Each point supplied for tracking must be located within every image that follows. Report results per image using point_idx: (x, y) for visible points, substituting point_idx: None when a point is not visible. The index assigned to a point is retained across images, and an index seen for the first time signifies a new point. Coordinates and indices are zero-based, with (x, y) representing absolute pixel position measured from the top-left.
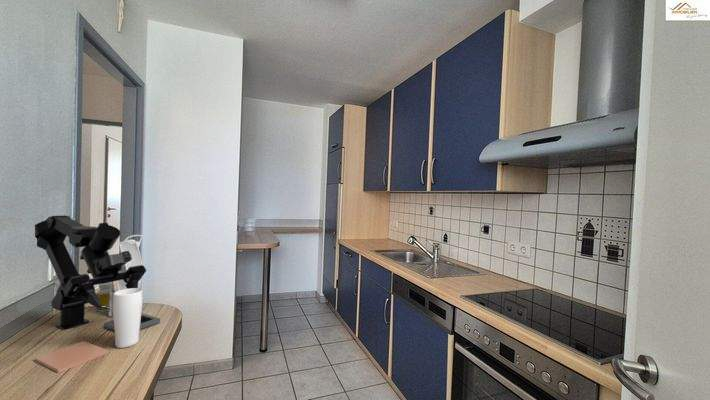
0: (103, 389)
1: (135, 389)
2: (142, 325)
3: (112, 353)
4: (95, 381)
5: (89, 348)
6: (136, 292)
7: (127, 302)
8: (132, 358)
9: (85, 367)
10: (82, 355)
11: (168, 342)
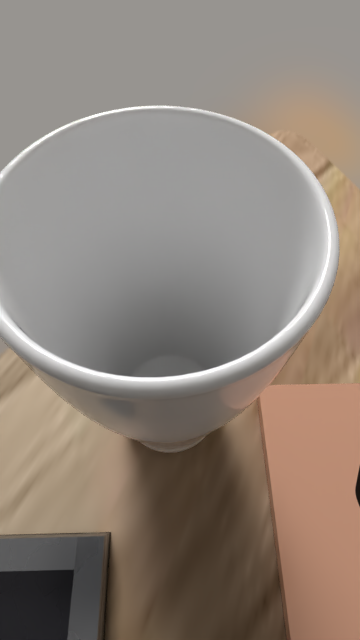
0: (339, 187)
1: (289, 138)
2: (5, 537)
3: None
4: (343, 234)
5: (304, 498)
6: (13, 303)
7: (223, 188)
8: None
9: (346, 343)
10: (345, 437)
11: None
